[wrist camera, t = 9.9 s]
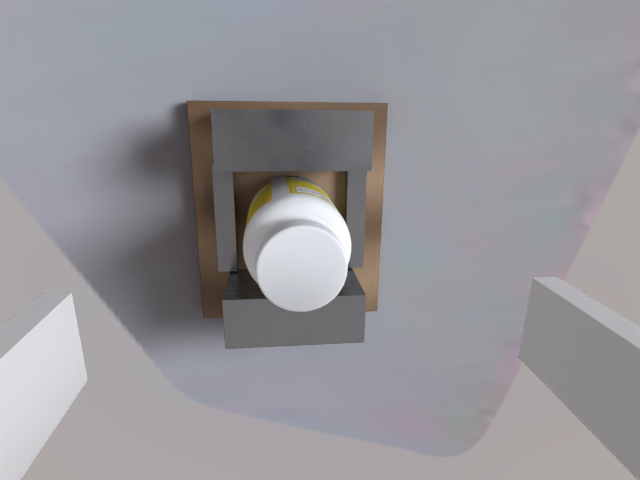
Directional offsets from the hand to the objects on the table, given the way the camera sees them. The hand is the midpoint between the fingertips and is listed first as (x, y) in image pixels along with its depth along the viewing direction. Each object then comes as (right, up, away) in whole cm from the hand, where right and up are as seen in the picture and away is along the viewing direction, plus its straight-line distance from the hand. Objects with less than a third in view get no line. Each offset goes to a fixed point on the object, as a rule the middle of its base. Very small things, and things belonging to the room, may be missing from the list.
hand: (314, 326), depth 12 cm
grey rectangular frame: (-2, +4, +16) cm, 17 cm away
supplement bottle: (-2, +4, +15) cm, 16 cm away
